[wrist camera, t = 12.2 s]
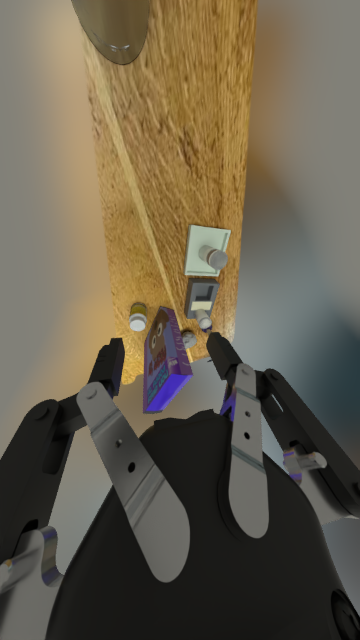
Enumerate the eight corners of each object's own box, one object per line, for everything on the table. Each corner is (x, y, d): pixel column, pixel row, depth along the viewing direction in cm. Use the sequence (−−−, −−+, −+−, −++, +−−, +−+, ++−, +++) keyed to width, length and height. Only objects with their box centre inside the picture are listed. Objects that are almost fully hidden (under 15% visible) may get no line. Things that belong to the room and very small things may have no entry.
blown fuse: (200, 243, 32) (214, 250, 26) (213, 246, 33) (230, 253, 27) (196, 259, 35) (209, 268, 28) (209, 261, 36) (223, 270, 29)
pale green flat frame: (189, 224, 30) (191, 225, 29) (227, 229, 32) (231, 230, 31) (183, 272, 37) (184, 274, 35) (215, 274, 39) (218, 276, 37)
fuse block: (189, 278, 38) (199, 291, 31) (214, 278, 40) (229, 292, 32) (184, 312, 45) (191, 329, 38) (205, 311, 47) (216, 328, 39)
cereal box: (160, 306, 42) (171, 374, 23) (173, 310, 44) (193, 376, 25) (144, 342, 50) (142, 414, 32) (156, 344, 52) (161, 413, 33)
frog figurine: (178, 327, 49) (182, 340, 44) (195, 328, 51) (201, 341, 46) (175, 338, 52) (179, 352, 47) (191, 339, 54) (196, 352, 49)
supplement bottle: (129, 303, 39) (125, 320, 33) (144, 301, 40) (144, 317, 33) (133, 316, 42) (131, 333, 36) (148, 313, 43) (148, 330, 36)
